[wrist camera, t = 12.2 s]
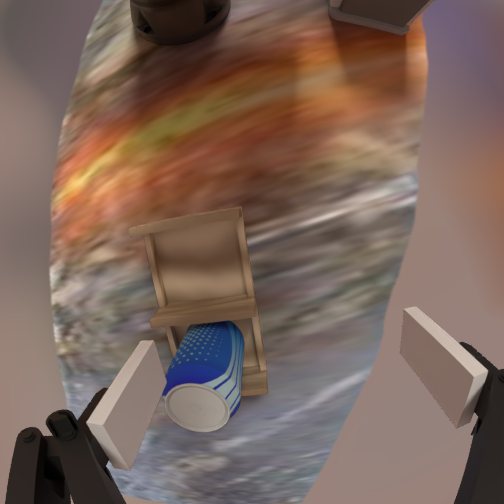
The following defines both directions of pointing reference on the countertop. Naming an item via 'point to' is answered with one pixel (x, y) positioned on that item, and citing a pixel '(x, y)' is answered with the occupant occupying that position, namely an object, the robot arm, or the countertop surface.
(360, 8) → the alarm clock
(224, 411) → the beer can
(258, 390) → the rack
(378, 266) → the countertop surface
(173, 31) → the robot arm
